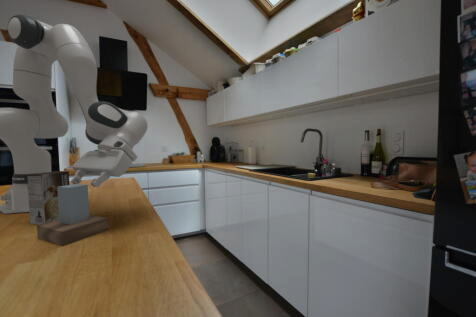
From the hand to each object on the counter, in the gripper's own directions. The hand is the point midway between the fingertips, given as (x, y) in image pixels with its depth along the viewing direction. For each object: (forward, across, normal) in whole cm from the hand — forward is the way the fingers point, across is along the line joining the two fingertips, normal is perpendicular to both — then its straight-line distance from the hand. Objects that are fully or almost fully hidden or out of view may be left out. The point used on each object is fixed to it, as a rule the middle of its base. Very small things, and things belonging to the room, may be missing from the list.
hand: (83, 184), depth 66 cm
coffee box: (+9, -20, +10) cm, 24 cm away
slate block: (+9, 0, +5) cm, 10 cm away
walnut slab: (+12, 0, +8) cm, 14 cm away
